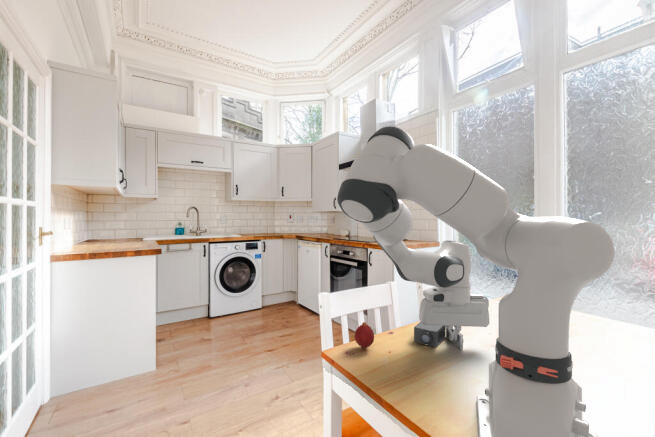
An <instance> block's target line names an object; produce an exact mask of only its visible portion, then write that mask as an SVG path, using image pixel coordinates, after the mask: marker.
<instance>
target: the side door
mask: <svg viewBox="0 0 655 437" xmlns="http://www.w3.org/2000/svg"><path fill="white" fill-rule="evenodd" d="M454 329H455V327H453V329H451V330H452V332H453V331H454ZM445 338H447V339H448V340H449V341H450V342H452V343H453V344H454V345H455V346H456V347H457V348H458V349H460V350H464V334H462V333H461V332H459V334H458V335H457V340H450V339H449V332H448V330H447V328H446V337H445Z"/></svg>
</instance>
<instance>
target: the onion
mask: <svg viewBox="0 0 655 437" xmlns="http://www.w3.org/2000/svg"><path fill="white" fill-rule="evenodd" d="M354 332H355V333H354V340H355V342H356V344H358V346H360V348H361V349H362V350H366V349H368V348H369V347H370V346H372V344H373V343H374V341H375V333H374V330H373V329H372V327H371V326H369V325H368V324H367V322H365V321H363V322H362V324H361V325H359V326H358V327H357V328H356V330H355V331H354Z"/></svg>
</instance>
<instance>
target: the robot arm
mask: <svg viewBox="0 0 655 437" xmlns="http://www.w3.org/2000/svg"><path fill="white" fill-rule="evenodd" d="M415 144H416V143H415V141H414V139H413V138H412V136H411V135H410V134H409V133H408V132H407V131H405V130H404V129H403V128H399V127H396V126H383V127H382V128H379V129H378V130H377V131H375V132H374V133H373V134H372V135H371V136H370V137H369V139H368V141H367V142H366V144H365V146H364V147H363V148H362V150H361V151H360V152H359V154H358V156H357V157H356V158H355V159H354V160H353V162H352V164H351V166H350V168H349V169H348V171H347V174H346V176H345V178H344V180H343V181H342V182H341V183H340V187H339V189H338V193H337V197H336V198H337V199H336V201H337V204H338V206H339V208H340V210H341V211H342V212H343V213H344V214H345V215H346V216H348V217H349V218H351V219H353V220H354V221H357V222H359V223H361V224H362V225H363V226H364V227H365V229H367V230H368V231H369V233H370V234H371V235H372V236H373V238H374V241H375V242H376V243H377V245H378V246H379V247H380V248H381V250H382V251H383V252H384V253H385V255H386V256H387V257H388V258H389V259H390V261H391V262H392V263H393V264H394V268H395V269H396V272H397V273H398V275H399V277H400V278H401V279H402V280H404V281H406V282H413V283H419V284H423V285H427V286H432V287H431V288H426V289H424V290H423V291H422V296H423V298H422V299H421V301H420V305H419V313H418V319H419V322H422V323H423V324H424V325H436V326H446V328H447V330H448V332H449V339H450V340H449V339H448V340H449V341H451V340H457V335H458V334H459V333H461V331H462V327H475V328H476V327H477V328H478V327H479V328H487V327H488V326H489V325H490V312H489V305H490V302H489V298H488V297H487V296H485V295H483V294H471V288H472V286H471V285H472V284H471V282H470V281H471V280H470V277H471V273H472V258H471V257H472V256H471V250H470V247H469V246H470V245H468V244H467V243H465V242H462V241H456V240H443V241H442V243H441V246H440V247H439V249H437V250H435V251H434V252H433V251H432V252H431V251H424V250H418V249H415V248H414V249H413V248H409V247H408V246H407V245H406V244H405V242H404V240H405V239H406V238H407V237H408V235H410V233H411V230H412V228H413V225H414V224H413V223H414V222H413V221H414V220H413V218H414V217H413V215H412V212H411V211H410V209H409V207H408V206H407V205H406V204H405V203H404V202H403V201H402V200H407V201H408V200H409V201H411V202H414V203H415V204H416V205H419V206H420V207H421V208H423V209H424V210H426V211H427V212H429V214H431V215H433V216H434V217H436V218H437V219H439V220H440V221H442V222H443V223H445V224H446V225H448V226H449V227H450V228H452V229H454V230H455V231H457V232H458V233H459V234H460V235H462V236H463V237H465V238H466V239H467V240H468V241H469V242H470V243H471V244H472V245H473V246H474V247H475V250H476V252H477V254H478V255H479V256H480V257H481V258H482V259H483V260H485V261H487V262H489V263H490V264H493V265H495V266H497V267H499V268H502V269H505V270H511V271H515V272H517V278H516V281H515V285H514V287H513V290H512V291H511V292H509V293H508V294H505V295H503V296H502V297H501V299H500V300H499V303H498V336H497V338H496V340H495V345H494V346H495V347H494V351H495V359H494V360H493V361H491V362H489V363H488V388H485V389H484V394H478V395H477V397H476V398H477V399H476V410H477V424H478V425H477V426H478V437H598V434H597V433H596V432H595V431H593V430H592V429H590V423H589V422H588V421H585V420H584V419H583V412H584V413H586V411H587V410H586V409H587V406H586V405H587V404H586V403H585V402H583V397H582V396H583V392H582V391H583V388H582V386H580V384H578V383H577V382H576V381H575V380H574V379H573V368H574V367H573V366H574V363H573V361H572V360H573V359H572V354H571V352H570V351H569V345H570V342H569V341H570V339H569V338H570V319H571V313H572V309H573V306H574V303H575V302H576V299H577V297H578V295H579V294H580V293H581V291H582V290H583V289H584V288H585V287H586V286H588V285H589V284H591V282H593V281H596V280H597V279H600V278H601V277H602V276H604V274H605V273H607V272H608V270H610V267H611V266H612V264H613V262H614V259H615V245H614V242H613V239H612V237H611V235H610V234H609V233H608V232H607V230H606V229H605V228H604V227H602V226H601V225H600V224H598V223H595V222H592V221H588V220H584V219H578V218H574V217H568V216H527V215H525V214H521V213H519V212H516V211H515V210H514V209H513V208H512V207H511V206H510V196H509V194H508V192H507V190H506V189H505V188H504V187H502V186H501V185H500V184H498V183H497V182H495V181H494V180H493V179H491V178H490V177H488V176H487V175H485V174H484V173H482V172H481V171H479V169H477V168H475V167H474V166H472V165H471V164H470V163H468V162H466V161H465V160H463V159H462V158H460V157H458V156H456V155H454V154H453V153H450V151H447V150H445V149H442V148H440V147H438V146H435V145H432V144H430V143H421V144H417V145H415ZM453 328H454V331H453V332H452V330H451V329H453Z"/></svg>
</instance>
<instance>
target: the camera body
mask: <svg viewBox="0 0 655 437" xmlns="http://www.w3.org/2000/svg"><path fill="white" fill-rule="evenodd" d="M446 338H447V337H446V326H436V325H424V324H423V323H422V322H421V321H419V322H418V323H417V324H416V325H415V326H413V342H414V343H418V344H422V345H426V346H430V347H434V348H438V347H439V345H440V344H442V342H443V341H444V340H445V339H446Z"/></svg>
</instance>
